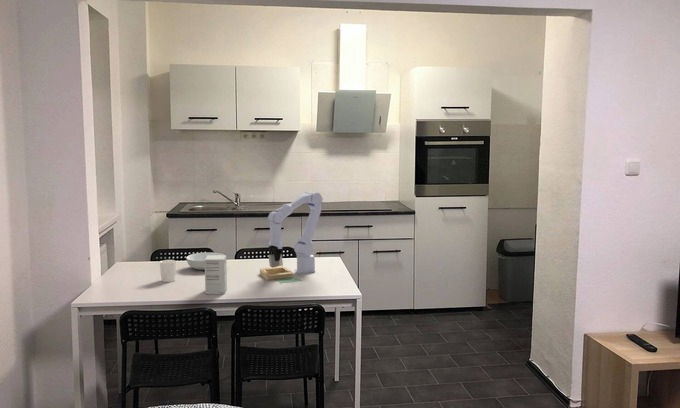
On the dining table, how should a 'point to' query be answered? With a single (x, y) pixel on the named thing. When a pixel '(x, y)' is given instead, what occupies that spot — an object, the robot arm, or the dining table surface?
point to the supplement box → (215, 274)
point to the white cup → (168, 270)
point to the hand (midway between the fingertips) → (276, 260)
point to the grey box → (275, 263)
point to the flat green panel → (288, 280)
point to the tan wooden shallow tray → (275, 273)
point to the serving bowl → (199, 260)
